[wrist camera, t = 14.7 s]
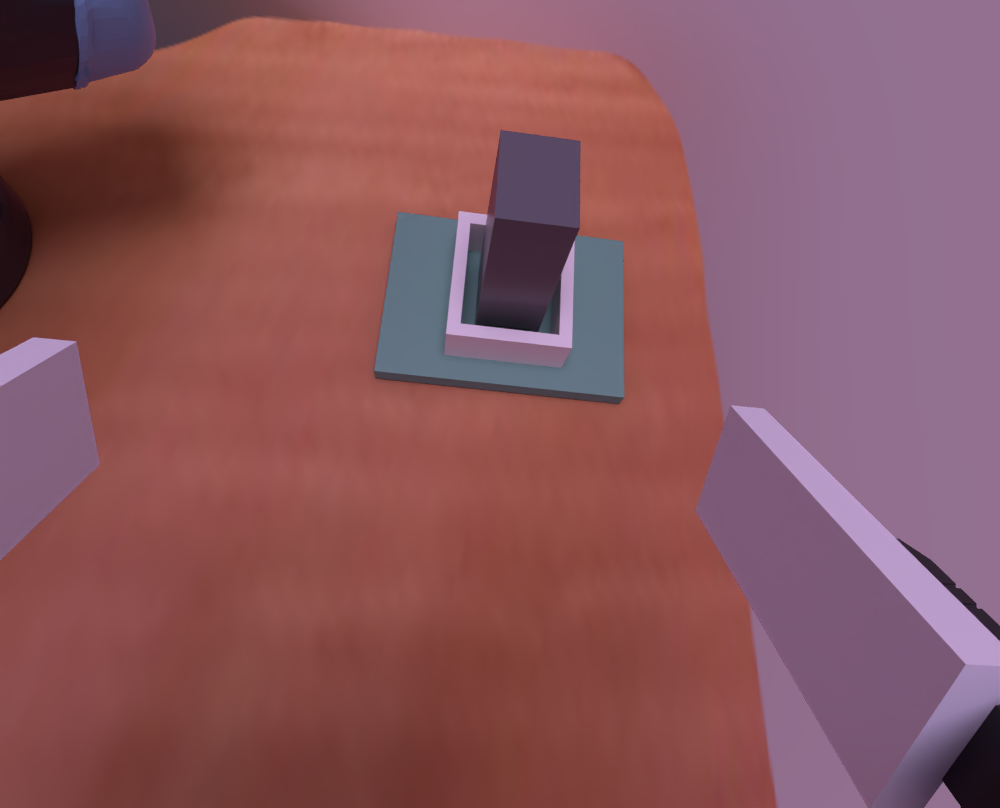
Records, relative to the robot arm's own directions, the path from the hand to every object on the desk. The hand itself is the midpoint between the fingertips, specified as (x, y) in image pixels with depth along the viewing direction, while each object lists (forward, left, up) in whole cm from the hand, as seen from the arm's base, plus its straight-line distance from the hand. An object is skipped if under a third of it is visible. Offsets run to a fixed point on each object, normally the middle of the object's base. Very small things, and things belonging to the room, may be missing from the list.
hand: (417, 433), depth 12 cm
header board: (-1, +17, -24) cm, 29 cm away
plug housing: (-1, +17, -23) cm, 28 cm away
